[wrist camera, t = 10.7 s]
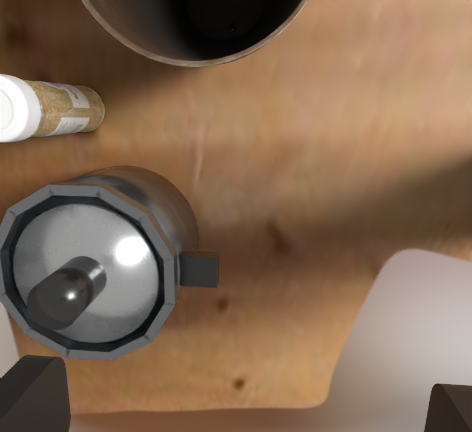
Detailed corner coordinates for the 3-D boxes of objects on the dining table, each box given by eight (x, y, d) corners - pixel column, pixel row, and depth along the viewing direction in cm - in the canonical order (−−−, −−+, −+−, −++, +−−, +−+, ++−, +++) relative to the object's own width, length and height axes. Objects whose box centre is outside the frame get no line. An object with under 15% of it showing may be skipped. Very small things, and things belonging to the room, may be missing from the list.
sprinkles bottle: (102, 84, 38) (18, 70, 26) (108, 131, 40) (31, 141, 27) (58, 86, 39) (-47, 74, 26) (65, 133, 40) (-32, 144, 27)
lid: (162, 208, 31) (138, 230, 25) (159, 343, 34) (137, 390, 28) (15, 195, 31) (-42, 214, 26) (25, 328, 35) (-23, 372, 29)
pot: (228, 168, 40) (213, 190, 29) (226, 303, 44) (212, 367, 33) (26, 162, 41) (-59, 181, 30) (42, 293, 45) (-29, 351, 34)
